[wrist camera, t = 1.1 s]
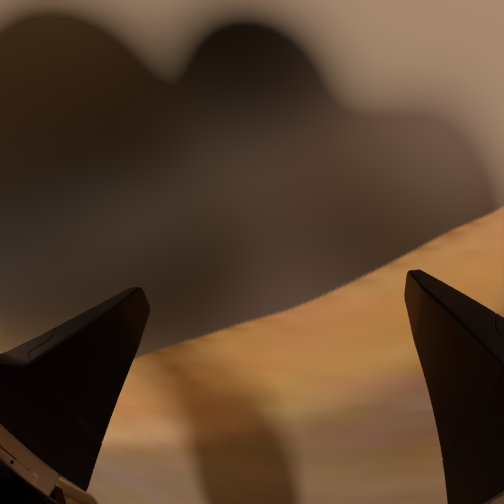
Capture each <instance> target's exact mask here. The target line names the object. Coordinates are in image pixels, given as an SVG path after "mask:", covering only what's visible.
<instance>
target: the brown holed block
mask: <svg viewBox="0 0 504 504" xmlns="http://www.w3.org/2000/svg"><path fill="white" fill-rule="evenodd" d="M64 498H65V501H66V504H82V503H80V502H78V501H76V500H74V499H72V498H70V497H68V496H67V495H65V494H64Z"/></svg>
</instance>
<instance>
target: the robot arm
mask: <svg viewBox="0 0 504 504" xmlns="http://www.w3.org/2000/svg"><path fill="white" fill-rule="evenodd" d="M404 297H405V303H406V307H407V312H408V316H409V321H410V325H411V330H412V335H413V339H414V343H415V346H416V349H417V353H418V356H419V359H420V363H421V366H422V369H423V373H424V376H425V380H426V384H427V388H428V391H429V395H430V399H431V404H432V408H433V412H434V417H435V421H436V426H437V431H438V436H439V441H440V447H441V453H442V458H443V467H444V474H445V482H446V491H447V502H448V504H504V318H503V317H502V316H500V315H499V314H495V312H493V311H492V310H490V309H489V308H487V307H485V306H484V305H482V304H480V303H478V302H477V301H475V300H473V299H472V298H470V297H468V296H466V295H465V294H463V293H461V292H460V291H458V290H456V289H454V288H452V287H451V286H449V285H447V284H445V283H444V282H442V281H440V280H438V279H436V278H434V277H433V276H431V275H429V274H427V273H425V272H423V271H422V270H410V271H408V273H407V277H406V285H405V293H404ZM149 313H150V306H149V303H148V301H147V298H146V296H145V293H144V291H143V290H142V288H140V287H132V288H129V289H127V290H125V291H123V292H122V293H120V294H118V295H116V296H114V297H112V298H110V299H108V300H106V301H104V302H102V303H100V304H98V305H97V306H95V307H93V308H91V309H89V310H87V311H85V312H83V313H81V314H79V315H77V316H76V317H74V318H72V319H70V320H68V321H66V322H65V323H63V324H61V325H59V326H57V327H55V328H53V329H51V330H49V331H48V332H46V333H44V334H42V335H40V336H38V337H36V338H34V339H32V340H30V341H28V342H26V343H24V344H22V345H20V346H18V347H16V348H13V349H11V350H9V351H8V352H5V353H1V354H0V504H66V501H65V498H64V494H63V491H62V489H61V488H59V487H58V486H56V483H57V481H58V479H59V477H60V478H62V479H63V480H65V481H67V482H68V483H70V484H72V485H74V486H76V487H77V488H79V489H81V490H83V491H85V492H86V491H87V489H88V486H89V483H90V479H91V476H92V473H93V469H94V466H95V463H96V460H97V457H98V454H99V451H100V448H101V445H102V441H103V439H104V436H105V433H106V430H107V427H108V424H109V421H110V419H111V416H112V413H113V411H114V408H115V405H116V403H117V400H118V397H119V395H120V392H121V389H122V387H123V384H124V382H125V379H126V377H127V374H128V372H129V369H130V367H131V364H132V362H133V359H134V357H135V355H136V352H137V350H138V347H139V344H140V341H141V338H142V335H143V331H144V329H145V325H146V322H147V319H148V316H149Z"/></svg>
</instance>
